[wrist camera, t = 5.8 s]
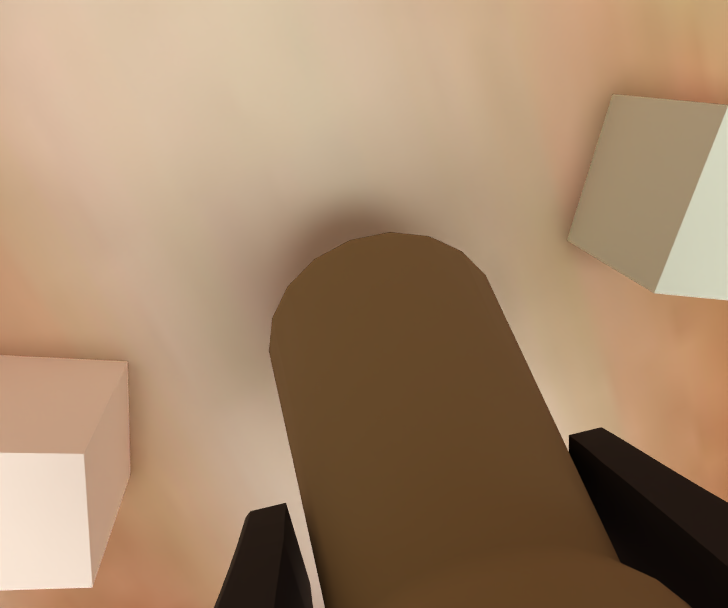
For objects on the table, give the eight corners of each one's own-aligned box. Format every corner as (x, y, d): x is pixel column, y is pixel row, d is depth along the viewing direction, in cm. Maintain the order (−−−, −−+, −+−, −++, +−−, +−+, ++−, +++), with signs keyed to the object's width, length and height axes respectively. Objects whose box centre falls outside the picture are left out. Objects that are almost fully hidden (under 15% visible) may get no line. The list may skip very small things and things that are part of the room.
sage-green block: (683, 253, 21) (798, 307, 16) (565, 239, 19) (654, 293, 15) (738, 116, 19) (887, 134, 14) (611, 93, 18) (728, 104, 13)
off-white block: (130, 473, 21) (92, 587, 16) (-15, 471, 20) (-99, 593, 15) (128, 360, 19) (83, 453, 14) (-33, 351, 18) (-137, 450, 13)
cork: (228, 283, 12) (60, 1165, 3) (473, 196, 12) (1167, 816, 3) (317, 460, 15) (382, 1191, 6) (517, 391, 15) (924, 1023, 6)
